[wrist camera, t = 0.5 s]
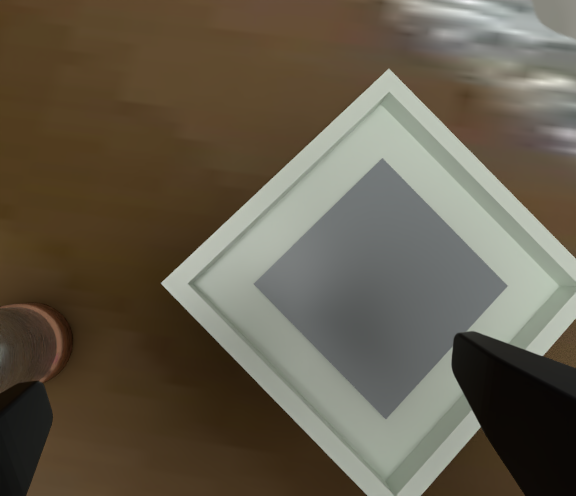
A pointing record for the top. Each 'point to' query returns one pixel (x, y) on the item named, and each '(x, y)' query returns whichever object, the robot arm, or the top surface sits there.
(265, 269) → the sage tray
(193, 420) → the top surface
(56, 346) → the metal sleeve
